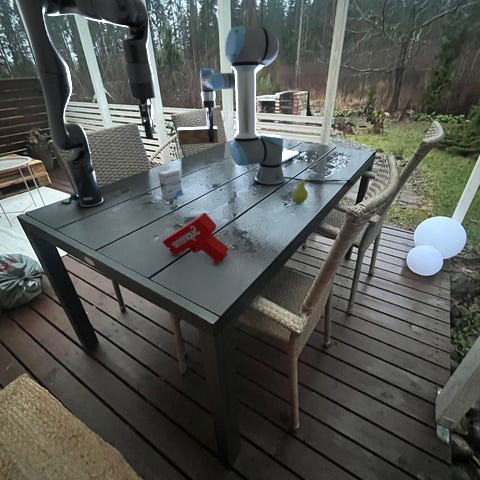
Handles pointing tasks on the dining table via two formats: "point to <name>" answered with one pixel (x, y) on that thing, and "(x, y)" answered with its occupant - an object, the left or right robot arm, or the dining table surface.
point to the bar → (196, 135)
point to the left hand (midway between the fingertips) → (150, 136)
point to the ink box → (170, 183)
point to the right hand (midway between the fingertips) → (211, 140)
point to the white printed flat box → (288, 154)
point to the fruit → (300, 192)
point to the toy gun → (197, 239)
